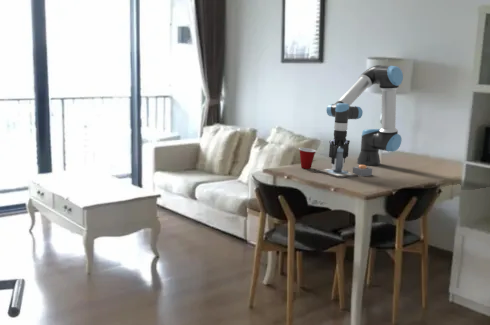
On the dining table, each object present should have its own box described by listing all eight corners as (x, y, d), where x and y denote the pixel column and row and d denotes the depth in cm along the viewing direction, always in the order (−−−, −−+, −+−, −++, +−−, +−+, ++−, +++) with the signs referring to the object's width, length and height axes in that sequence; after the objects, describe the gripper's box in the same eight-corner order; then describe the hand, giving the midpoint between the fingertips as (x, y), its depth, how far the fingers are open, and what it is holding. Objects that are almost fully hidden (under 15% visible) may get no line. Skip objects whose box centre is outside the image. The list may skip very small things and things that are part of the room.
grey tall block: (337, 170, 330) (339, 147, 327) (343, 172, 325) (345, 148, 323) (331, 171, 327) (332, 147, 325) (336, 172, 323) (338, 149, 320)
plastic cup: (314, 170, 333) (315, 150, 331) (296, 169, 335) (297, 149, 333) (315, 167, 344) (317, 148, 342) (298, 166, 346) (299, 147, 344)
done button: (362, 168, 331) (363, 164, 330) (367, 170, 327) (368, 165, 326) (357, 169, 329) (357, 164, 328) (362, 170, 325) (362, 166, 324)
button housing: (362, 172, 334) (363, 166, 333) (371, 175, 327) (372, 168, 326) (352, 173, 330) (353, 166, 329) (361, 176, 323) (362, 169, 322)
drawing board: (336, 169, 339) (336, 167, 339) (358, 176, 322) (358, 174, 321) (316, 171, 331) (316, 169, 331) (337, 178, 314) (338, 175, 314)
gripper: (348, 128, 330) (345, 167, 334) (324, 129, 321) (321, 168, 325) (356, 130, 323) (353, 169, 327) (332, 131, 314) (329, 171, 318)
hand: (337, 168), depth 326 cm, fingers open, 5 cm apart
